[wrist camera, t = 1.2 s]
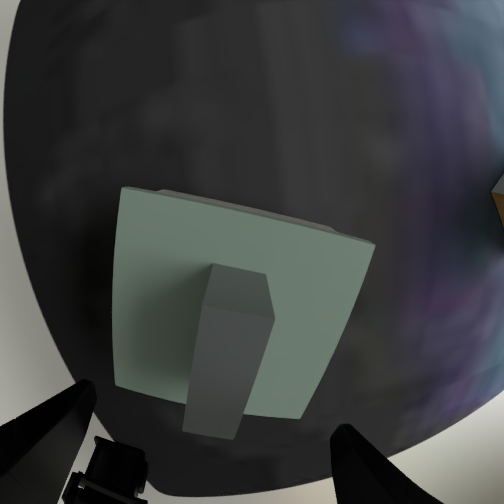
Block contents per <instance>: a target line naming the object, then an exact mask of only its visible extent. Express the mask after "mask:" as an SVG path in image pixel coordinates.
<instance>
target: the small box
mask: <svg viewBox="0 0 504 504" xmlns="http://www.w3.org/2000/svg"><path fill="white" fill-rule="evenodd" d="M491 194H492V196H493V198H494V201H495V203H496V206H497V209H498V212H499V215H500V218H501V221H502V224H503V228H504V174H503V175H502V177H501V178H500V179H499V181H498V182H497V184H496V185H495V187H494V188H493V189H492V191H491Z"/></svg>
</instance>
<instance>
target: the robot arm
mask: <svg viewBox="0 0 504 504" xmlns="http://www.w3.org/2000/svg"><path fill="white" fill-rule="evenodd" d="M96 400H97V396H96V390H95V384H94V383H93V382H92V381H89V380H86V379H82V380H81V381H79V382H77V383H75V384H74V385H72V386H70V387H69V388H67V389H65V390H64V391H62V392H60V393H58V394H57V395H55V396H53V397H52V398H50V399H48V400H46V401H45V402H43V403H41V404H39V405H38V406H36V407H34V408H32V409H31V410H29V411H27V412H25V413H24V414H22V415H20V416H18V417H17V418H16V419H13V420H11V421H9V422H7V423H6V424H3V425H2V426H0V504H57V503H58V500H59V498H60V495H61V492H62V490H63V487H64V485H65V482H66V480H67V477H68V475H69V472H70V470H71V467H72V465H73V463H74V461H75V458H76V456H77V454H78V451H79V449H80V447H81V445H82V442H83V440H84V438H85V435H86V432H87V429H88V426H89V423H90V420H91V416H92V413H93V410H94V407H95V404H96ZM94 441H95V444H96V447H95V450H94V452H93V455H92V457H91V459H90V462H89V465H88V467H87V470H86V472H85V474H83V473H82V472H80V471H79V472H78V473H76V472H72V474H71V477H70V479H69V481H68V484H67V486H66V488H65V490H64V493H63V495H62V499H63V501H64V504H148V501H147V500H144V499H143V500H142V499H140V498H137V496H138V493H140V494H142V493H143V492H144V488H145V483H146V479H147V475H148V463H147V462H146V461H145V453H144V452H143V451H142V450H138V449H135V448H132V447H128V446H125V445H122V444H119V443H116V442H113V441H110V440H107V439H104V438H101V437H99V436H95V437H94ZM330 450H331V466H332V476H333V482H334V487H335V492H336V498H337V504H444V503H442V502H441V501H439V500H438V499H436V498H435V497H433V496H432V495H430V494H428V493H427V492H426V491H424V490H423V489H422V488H420V487H419V486H418V485H417V484H415V483H414V482H413V481H411V479H409V478H408V477H406V475H405V474H404V473H402V472H401V471H400V470H399V469H398V468H397V467H396V466H395V465H393V464H392V463H391V462H390V461H389V460H388V459H387V458H386V457H385V456H384V455H383V454H381V453H380V452H379V451H378V450H377V449H376V448H375V447H374V446H373V445H372V444H371V443H370V442H369V441H368V440H366V439H365V438H364V437H363V436H362V435H361V434H360V433H359V432H358V431H357V430H356V429H355V428H354V427H353V426H352V425H351V424H340V425H338V427H337V428H336V430H335V431H334V432H333V434H332V435H331V438H330ZM78 486H81V487H83V488H84V489H83V488H79V487H78Z"/></svg>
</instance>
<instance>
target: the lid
mask: <svg viewBox="0 0 504 504" xmlns="http://www.w3.org/2000/svg"><path fill="white" fill-rule="evenodd" d="M374 248H375V245H374V244H373V243H371V242H370V241H368V240H364V239H360V238H357V237H353V236H349V235H345V234H341V233H338V232H334V231H330V230H326V229H322V228H318V227H314V226H310V225H306V224H302V223H298V222H294V221H290V220H286V219H282V218H277V217H273V216H269V215H265V214H260V213H256V212H252V211H247V210H243V209H238V208H234V207H229V206H224V205H220V204H215V203H210V202H206V201H201V200H196V199H191V198H186V197H181V196H176V195H171V194H166V193H161V192H156V191H150V190H145V189H139V188H134V187H124V188H122V190H121V197H120V204H119V212H118V220H117V229H116V240H115V252H114V267H113V291H112V335H113V359H114V374H115V385H117V386H120V387H123V388H126V389H130V390H133V391H136V392H140V393H143V394H147V395H151V396H155V397H158V398H162V399H167V400H171V401H175V402H179V403H184V404H186V408H185V416H184V423H183V431H185V432H190V433H195V434H200V435H206V436H212V437H218V438H225V439H233V440H234V437H235V435H236V432H237V429H238V427H239V424H240V421H241V419H242V416H243V414H250V415H258V416H268V417H280V418H295V419H300V418H301V416H302V414H303V412H304V410H305V409H306V407H307V405H308V403H309V401H310V399H311V397H312V395H313V393H314V392H315V390H316V388H317V386H318V384H319V382H320V380H321V378H322V376H323V374H324V372H325V370H326V367H327V365H328V363H329V361H330V359H331V357H332V355H333V353H334V350H335V348H336V346H337V344H338V342H339V339H340V337H341V335H342V332H343V330H344V328H345V325H346V323H347V321H348V318H349V316H350V313H351V311H352V308H353V306H354V303H355V301H356V298H357V296H358V293H359V291H360V288H361V285H362V283H363V280H364V277H365V274H366V272H367V269H368V266H369V263H370V260H371V257H372V254H373V251H374Z"/></svg>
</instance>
